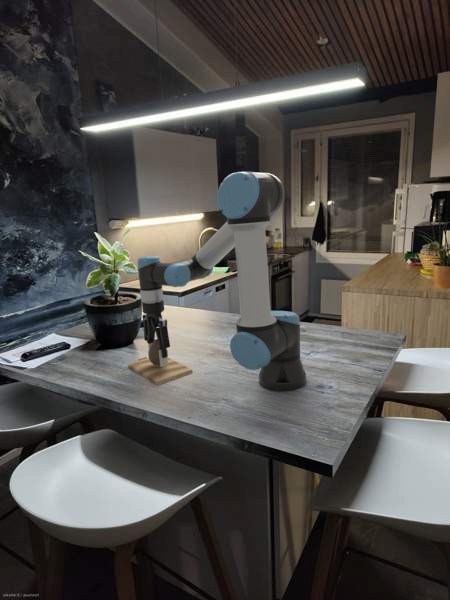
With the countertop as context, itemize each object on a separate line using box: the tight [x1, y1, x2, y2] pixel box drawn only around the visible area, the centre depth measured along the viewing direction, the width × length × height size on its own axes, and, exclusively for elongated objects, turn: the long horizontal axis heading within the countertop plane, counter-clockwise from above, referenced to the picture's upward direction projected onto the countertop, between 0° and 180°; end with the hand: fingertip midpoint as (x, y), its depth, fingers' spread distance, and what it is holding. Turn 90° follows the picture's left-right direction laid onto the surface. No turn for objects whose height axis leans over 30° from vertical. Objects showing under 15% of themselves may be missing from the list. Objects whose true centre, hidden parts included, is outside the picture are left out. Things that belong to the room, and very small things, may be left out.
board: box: [127, 356, 193, 386], centre depth 148 cm, size 24×14×1 cm, turn 38°
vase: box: [147, 338, 169, 365], centre depth 145 cm, size 7×7×9 cm
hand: (158, 362), depth 146 cm, fingers closed on vase, 7 cm apart
